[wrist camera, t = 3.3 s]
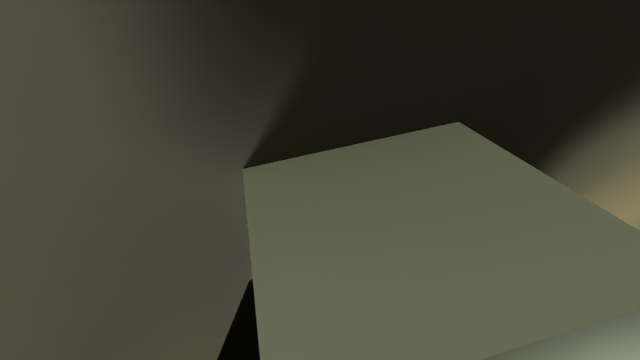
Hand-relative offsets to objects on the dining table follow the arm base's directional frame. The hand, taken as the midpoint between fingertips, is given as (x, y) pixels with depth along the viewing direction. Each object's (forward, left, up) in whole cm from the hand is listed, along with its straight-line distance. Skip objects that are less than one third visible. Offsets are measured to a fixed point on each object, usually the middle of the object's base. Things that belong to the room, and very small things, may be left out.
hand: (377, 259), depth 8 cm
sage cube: (0, 0, -1) cm, 1 cm away
